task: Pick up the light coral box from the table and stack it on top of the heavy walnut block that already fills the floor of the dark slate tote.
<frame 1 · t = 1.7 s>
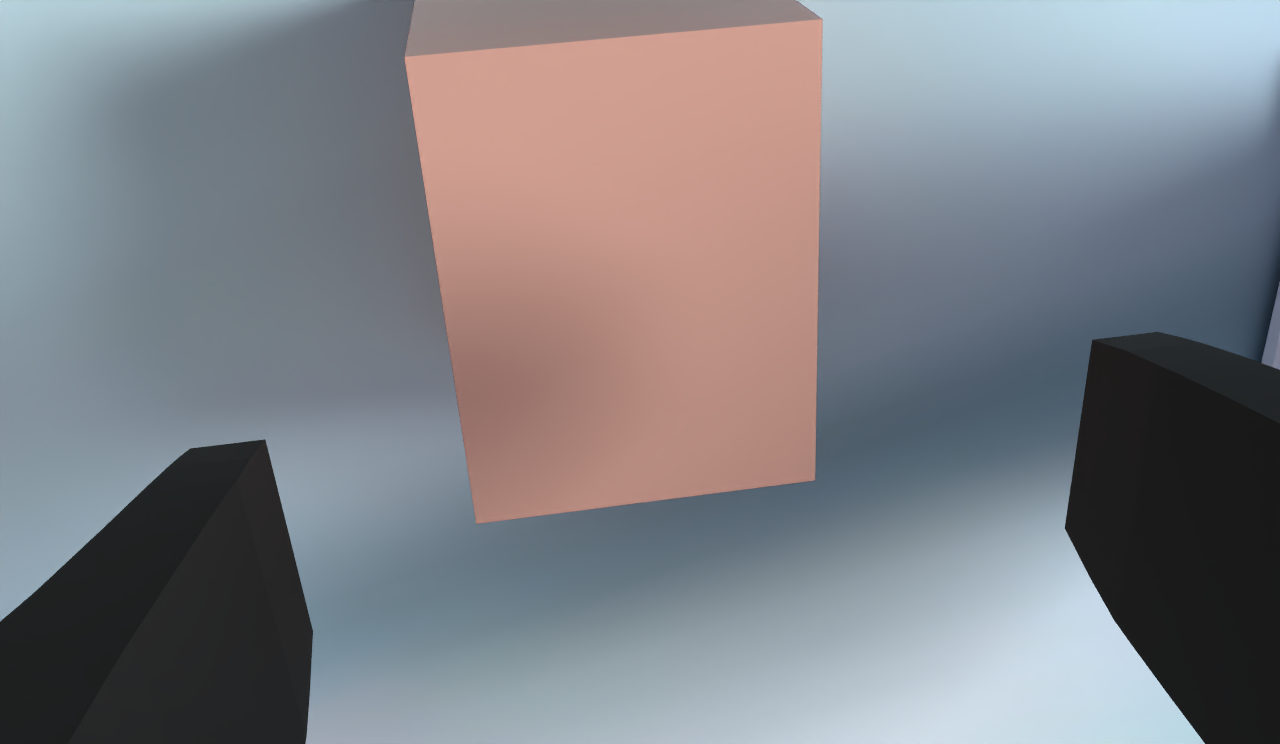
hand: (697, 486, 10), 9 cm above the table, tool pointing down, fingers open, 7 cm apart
coral box: (591, 164, 18), on the table
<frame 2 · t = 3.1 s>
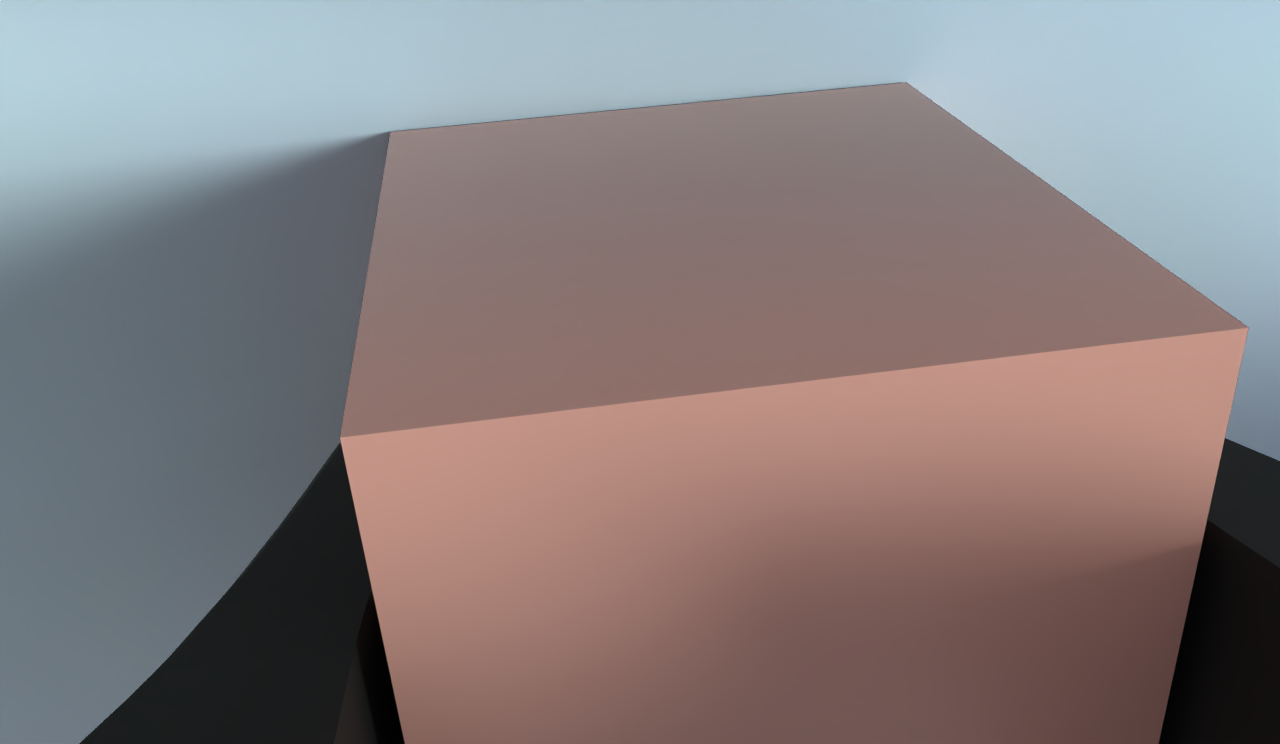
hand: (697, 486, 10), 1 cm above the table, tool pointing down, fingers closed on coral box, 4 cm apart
coral box: (669, 407, 11), on the table, touching gripper
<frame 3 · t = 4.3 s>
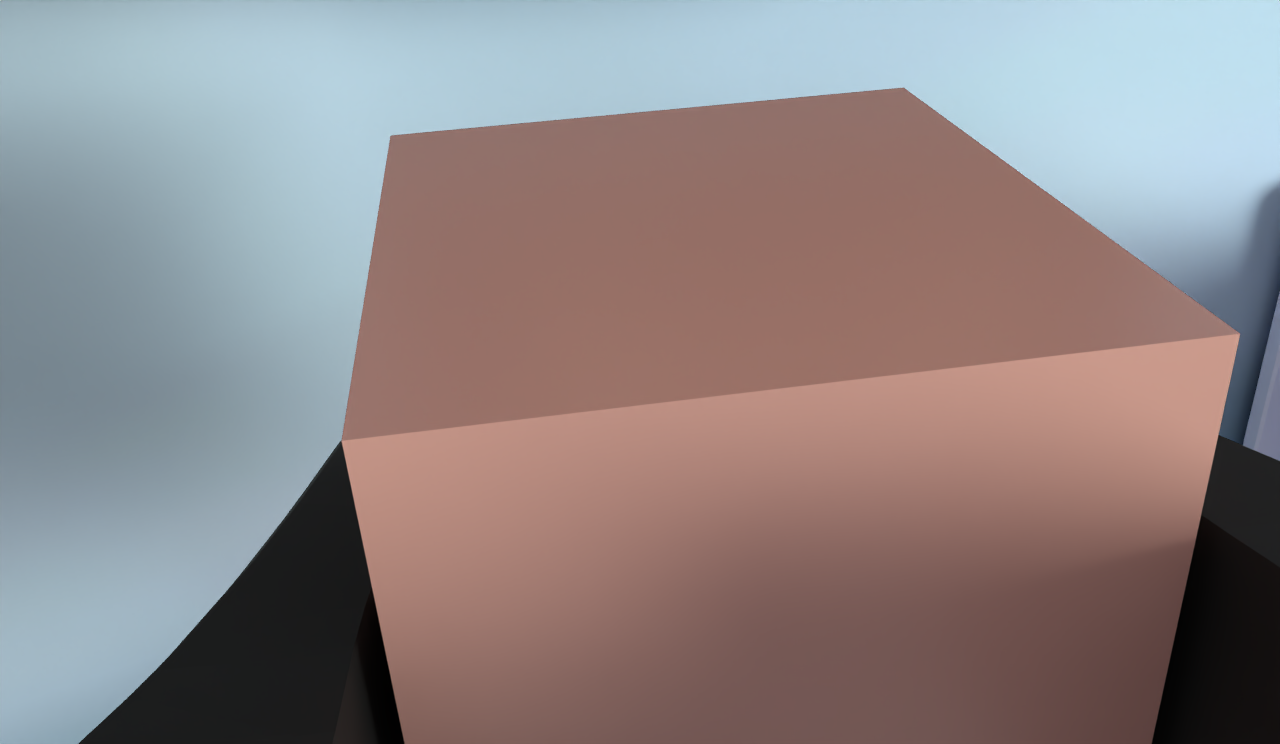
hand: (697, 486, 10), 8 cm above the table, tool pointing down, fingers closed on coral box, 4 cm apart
coral box: (667, 409, 11), point 7 cm above the table, touching gripper
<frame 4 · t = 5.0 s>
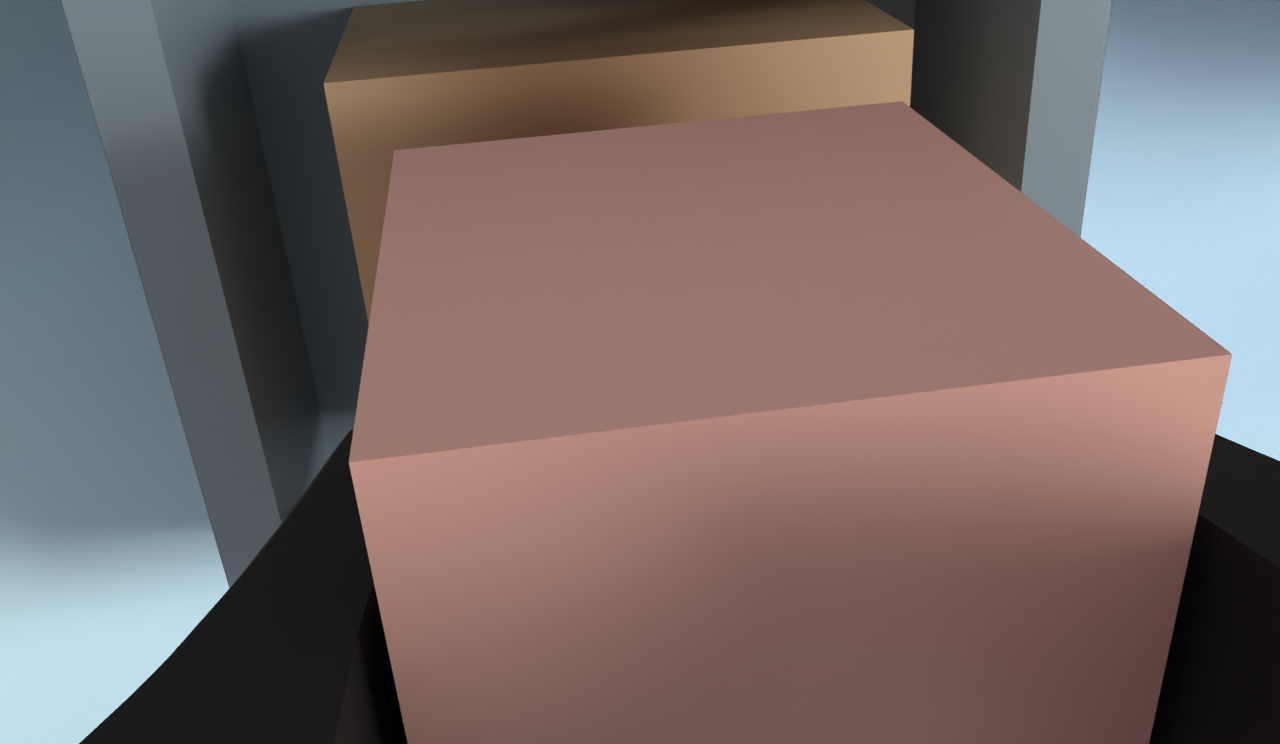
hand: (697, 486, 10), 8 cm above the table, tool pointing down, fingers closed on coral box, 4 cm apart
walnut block: (602, 203, 17), point 1 cm above the table, touching tote
coral box: (668, 419, 12), point 7 cm above the table, touching gripper
tote: (596, 185, 17), on the table
when the fingers open (8 cm above the table, at t = 5.6 s): coral box drops 1 cm, resting on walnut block.
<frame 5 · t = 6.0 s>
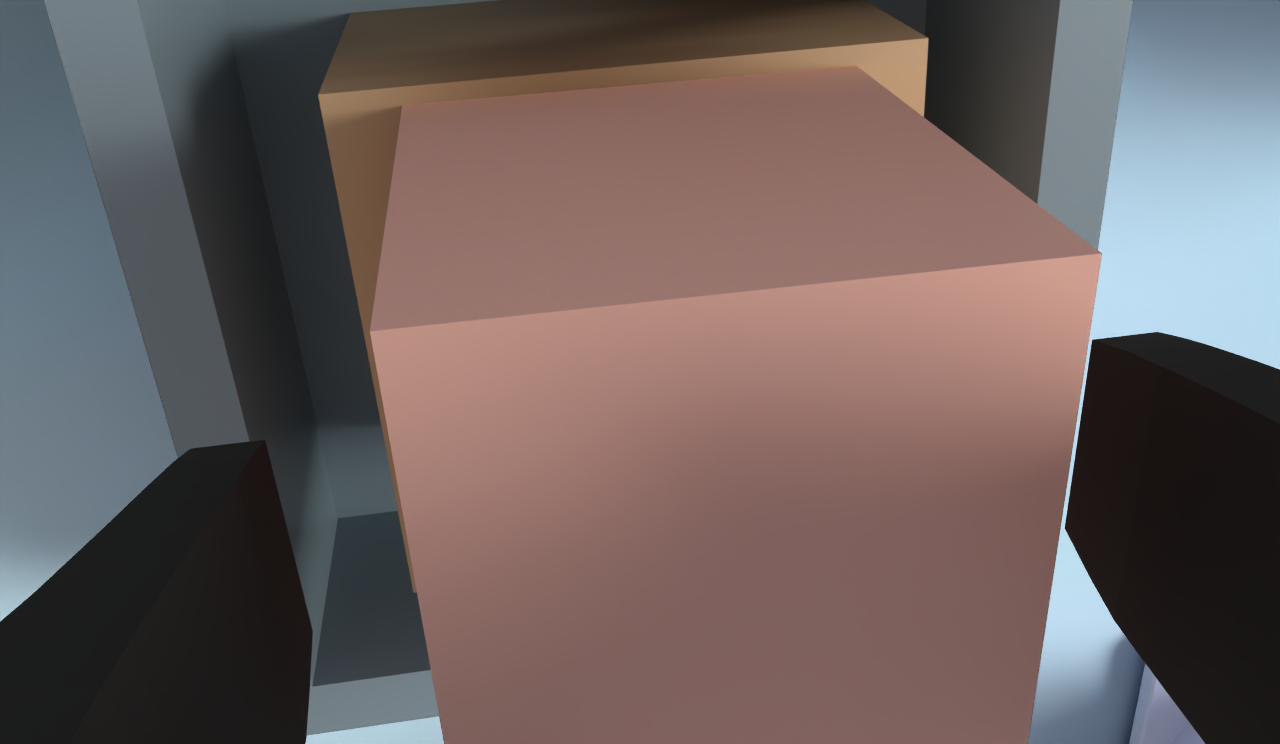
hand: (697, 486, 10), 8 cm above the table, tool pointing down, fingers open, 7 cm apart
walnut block: (605, 214, 16), point 1 cm above the table, touching coral box, tote
coral box: (648, 355, 13), point 5 cm above the table, touching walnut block
tote: (599, 194, 17), on the table
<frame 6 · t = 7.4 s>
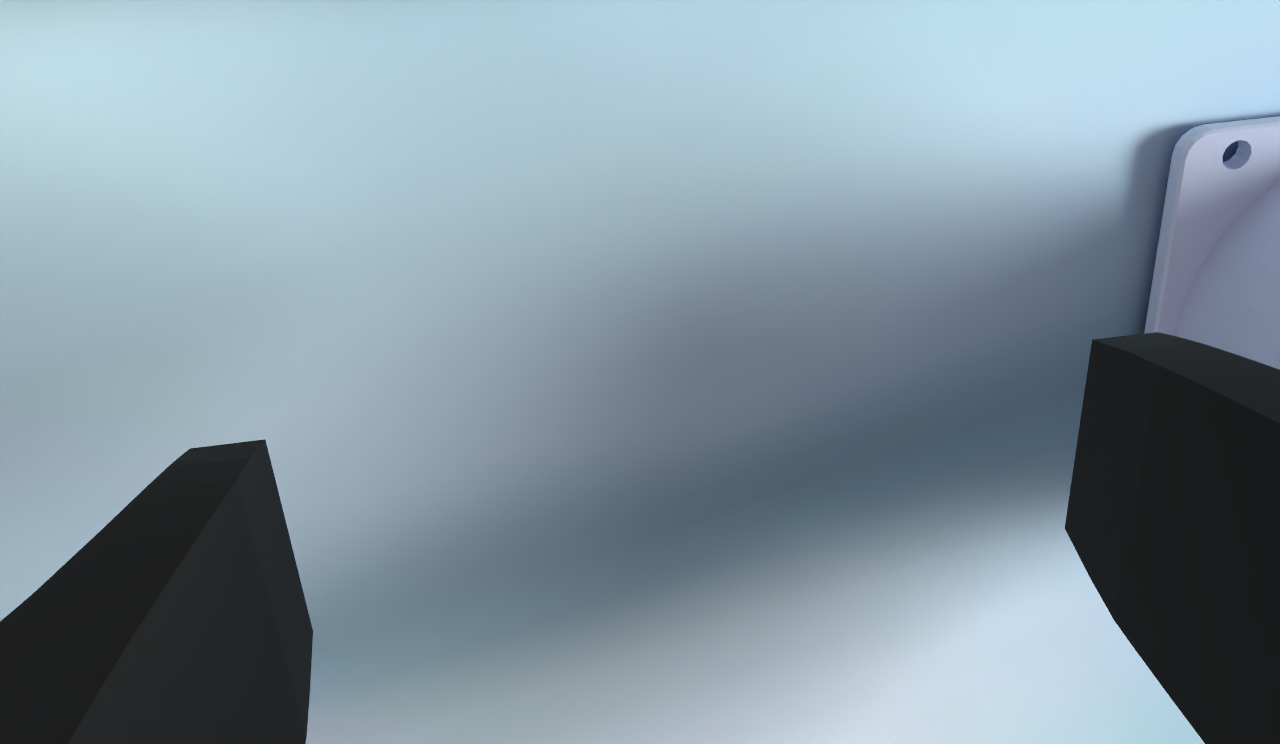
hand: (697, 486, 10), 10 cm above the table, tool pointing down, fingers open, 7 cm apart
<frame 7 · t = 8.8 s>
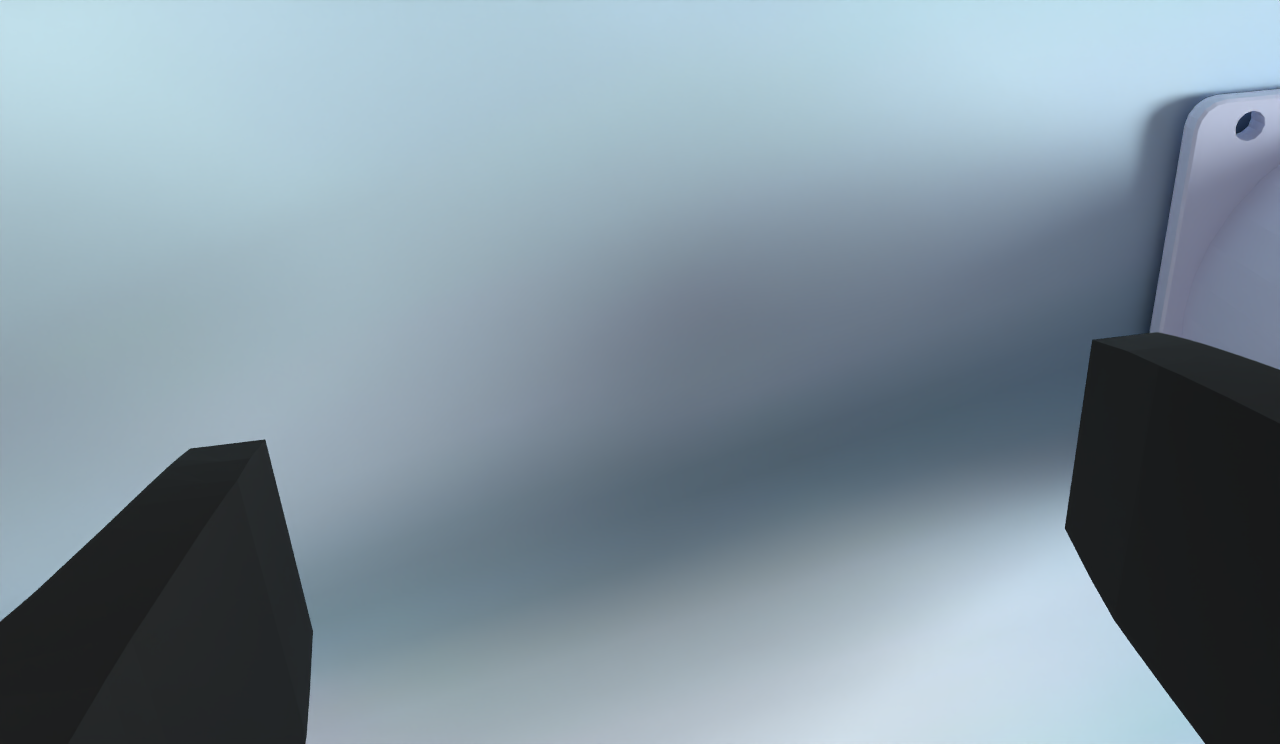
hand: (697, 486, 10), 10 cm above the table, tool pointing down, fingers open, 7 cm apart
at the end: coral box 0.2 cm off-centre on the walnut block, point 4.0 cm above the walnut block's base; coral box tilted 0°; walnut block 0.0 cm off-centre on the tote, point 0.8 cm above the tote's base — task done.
